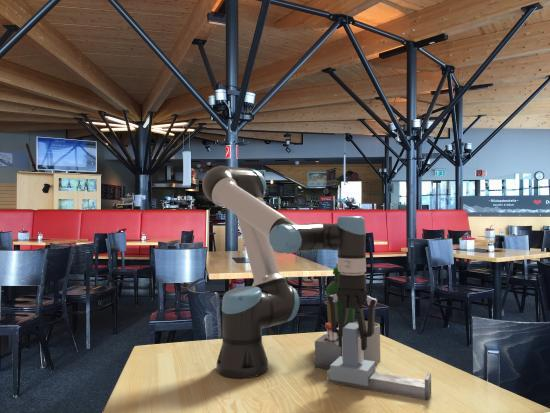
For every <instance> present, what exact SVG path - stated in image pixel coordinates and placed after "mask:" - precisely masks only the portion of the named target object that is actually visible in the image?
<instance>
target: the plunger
mask: <svg viewBox="0 0 550 413" xmlns="http://www.w3.org/2000/svg"><path fill="white" fill-rule="evenodd" d="M324 326H325V329H326V334H327V341H334V342H337V333H335V332H332V327H331V322H329V323H328V322H325V325H324Z"/></svg>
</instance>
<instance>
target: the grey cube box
mask: <svg viewBox="0 0 550 413" xmlns="http://www.w3.org/2000/svg"><path fill="white" fill-rule="evenodd" d="M340 356H342V347H339V336H337V342H334V341H327V333H326V334H325V333H324V334H322V335H321V336H320V337H319V338H317V339H316V340H314V364H315V365H314V369H318V370H325V371H328V370H329V369H330V365H331V364H332V363H333V362H334V361H335V360H337V359H338V358H339V357H340Z"/></svg>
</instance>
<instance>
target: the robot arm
mask: <svg viewBox="0 0 550 413" xmlns="http://www.w3.org/2000/svg"><path fill="white" fill-rule="evenodd" d="M201 183H202V187H201V188H202V191H203V193H204V195H205V196H206V198H207V199H208V200H209V201H211V202H212V203H213V204H214V205H215V206H218V207H224V208H225V209H227V210H228V211H230V212H231V213H232V214H234V215H235V216H237V220H238V224H239V228H240V232H241V236H242V240H243V244H244V247H245V251H246V254H247V259H248V262H249V266H250V269H251V274H252V278H253V282H252V285H251V286H250V285H249V286H248V285H246V286H238V287H235V288H232V289H230V290H228V291H226V292H225V293H224V294H223V297H222V305H221V311H222V312H221V314H222V316H221V317H222V318H221V319H222V320H221V321H222V325H221V327H222V329H221V330H222V342H221V343H222V344H221V348H220V350H219V354H218V357H217V360H216V372H217V373H218V374H219V375H220V376H221V375H222V376H223V377H227V378H233V379H246V378H247V379H248V378H253V377H257V376H260V375H263V374H265V373H266V372H267V371H268V369H269V361H268V357H267V354H266V351H265V348H264V345H263V331H262V330H264V329H265V328H270V327H273V326H277V325H283V324H285V323H288V322H290V321H292V320H293V319H294V318H295V317H296V316H297V314H298V311H299V309H300V296H299V293H298V291H297V289H296V288H294V287H293V286H292V285H290V284H288V281H287V278H286V276H283V274H281V273H280V270H279V267H278V262H277V260H276V256H275V253H274V252H276V253H278V254H288V255H289V254H293V253H300V252H310V251H311V252H312V251H321V250H323V251H337V263H338V271H339V272H340V274H339V275H338V291H337V293H336V294H335V295H330V296H328V301H329V303H330V311H331V327H332V332H335V333H337V334H338V336H339V347H342V361H343V327H344V326H346V323H347V318H348V312H349V309H350V308H353V309H355V316H356V322H357V321H358V326H359V331H360V337H359V338H358V363H360V364H361V363H362V362H363V361H364V350H366V349H367V337H371V336H372V335H373V334H374V322H376V321H375V319H376V318H375V316H376V306H377V303H378V298H376V297H375V298H374V297H371V296H370V295H369V293H368V291H367V275H366V272H367V259H366V258H367V257H366V235H367V231H366V221H365V220H366V219H365V217H363V216H359V215H357V216H355V215H354V216H350V215H349V216H338V217H337V220H336V221H337V222H336V223H327V222H325V223H324V222H323V223H320V222H312V223H296V222H294V221H292V220H291V219H289V218H288V217H286V216H284V215H283V214H282V213H280V212H279V211H277V210H275V209H273V208H272V207H271V206H269V205H267V204H266V203H264V202H265V201H264V200H265V199H264V197H265V196H266V191H267V183H266V179H265V177H264V176H263V174H262V173H261V172H259V170H256V169H254V168H249V167H238V166H237V167H235V166H226V165H219V166H214V167H212V168H211V169H209V170H208V171H207V172H206V173H205V175H204V177H203V179H202V182H201ZM338 298H339V300H340V301H341V303H342V313H341V319H340V324H338V308H337V301H338ZM366 301H367V305H368V309H367V321H368V326H367V330H366V324H365V321H366V320H365V315H364V307H363V305H364V304H365V302H366Z"/></svg>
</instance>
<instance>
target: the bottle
mask: <svg viewBox="0 0 550 413" xmlns="http://www.w3.org/2000/svg"><path fill="white" fill-rule="evenodd" d="M339 274H340V272H339V271H338V262H337V263H335V266H334V267H333V271H332V275H334V281H332V282H331V283H329V284H328V285H327V287H326V288H325V296H326V309H327V323H329V322H331V311H330V303H329V301H328V296H330V295H335V294H336V293H337V291H338V275H339ZM337 308H338V324H340V319H341V313H342V303H341V301H340V300H339V298H338V301H337ZM355 317H356V312H355V309H353V308H350V309H349V312H348V318H347V323H346V325H347V324H348V323H354V322H356V321H355V319H356V318H355ZM337 336H338V334H337Z"/></svg>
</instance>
